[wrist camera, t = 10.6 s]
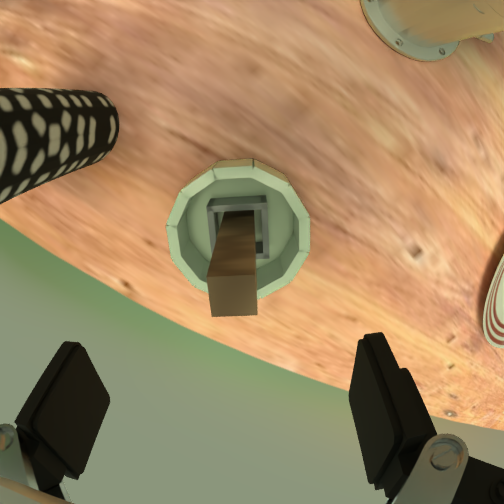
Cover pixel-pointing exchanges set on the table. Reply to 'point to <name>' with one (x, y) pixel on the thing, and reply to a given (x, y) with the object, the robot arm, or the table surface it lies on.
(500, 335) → the dinner plate
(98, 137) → the white-spotted black cylinder
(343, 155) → the table surface
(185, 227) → the green faceted socket ring
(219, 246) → the wooden rectangular post
